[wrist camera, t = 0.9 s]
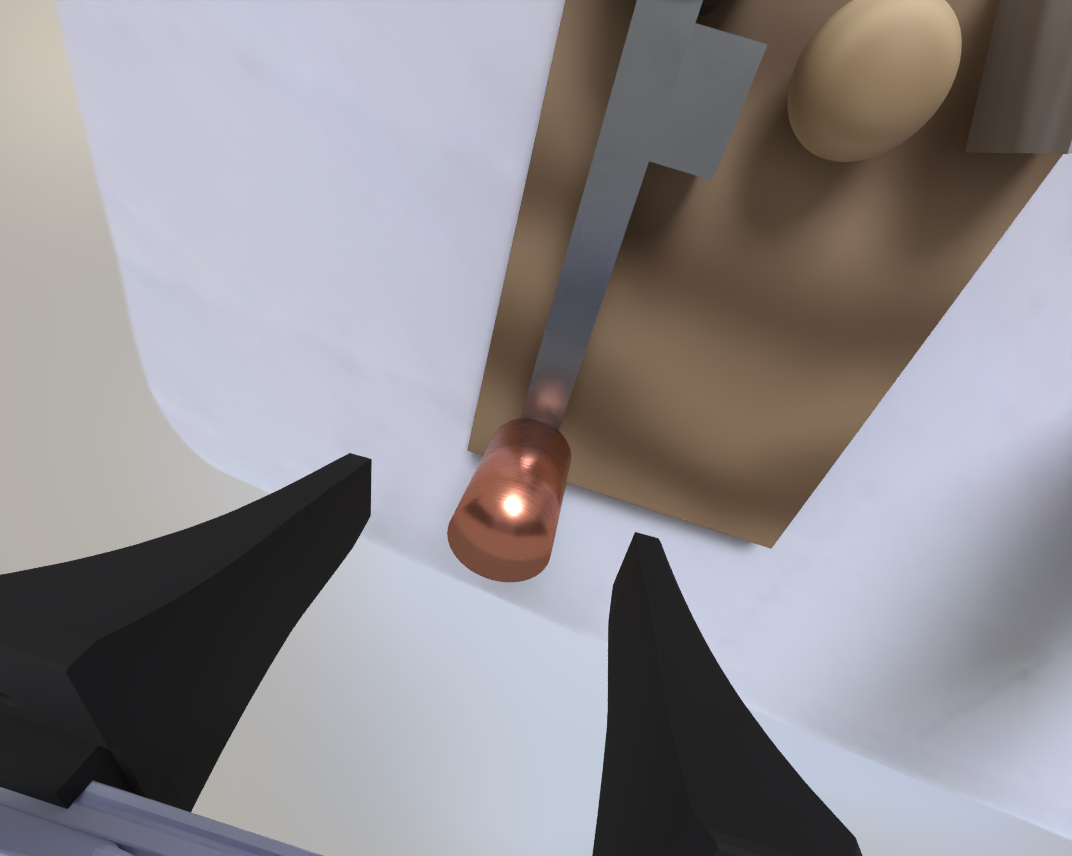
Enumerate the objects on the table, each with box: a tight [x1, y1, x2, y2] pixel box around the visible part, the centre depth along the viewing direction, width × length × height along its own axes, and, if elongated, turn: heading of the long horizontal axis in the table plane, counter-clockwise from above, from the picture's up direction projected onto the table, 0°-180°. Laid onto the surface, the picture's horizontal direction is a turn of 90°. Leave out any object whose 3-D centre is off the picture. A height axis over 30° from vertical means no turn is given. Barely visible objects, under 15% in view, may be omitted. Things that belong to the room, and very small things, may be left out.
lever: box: [447, 0, 768, 582], centre depth 13 cm, size 20×4×8 cm, turn 166°
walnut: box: [787, 0, 962, 162], centre depth 12 cm, size 4×4×4 cm
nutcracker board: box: [468, 0, 1072, 548], centre depth 16 cm, size 22×15×6 cm
